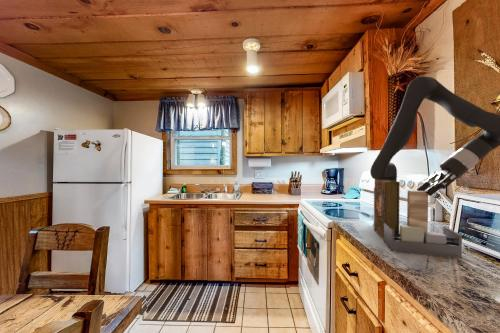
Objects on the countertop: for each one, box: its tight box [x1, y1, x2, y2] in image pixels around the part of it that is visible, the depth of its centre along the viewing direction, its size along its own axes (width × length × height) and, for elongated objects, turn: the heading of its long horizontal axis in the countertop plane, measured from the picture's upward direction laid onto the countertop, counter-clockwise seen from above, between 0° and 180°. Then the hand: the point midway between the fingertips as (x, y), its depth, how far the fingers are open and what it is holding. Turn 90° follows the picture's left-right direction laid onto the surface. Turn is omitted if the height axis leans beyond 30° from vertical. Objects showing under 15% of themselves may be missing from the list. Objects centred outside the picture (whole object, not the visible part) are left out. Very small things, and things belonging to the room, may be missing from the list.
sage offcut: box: [399, 225, 424, 243], centre depth 91 cm, size 2×7×9 cm, turn 73°
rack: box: [383, 223, 463, 259], centre depth 93 cm, size 12×22×8 cm, turn 73°
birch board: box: [406, 189, 429, 233], centre depth 95 cm, size 3×6×22 cm, turn 73°
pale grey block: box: [424, 232, 446, 244], centre depth 89 cm, size 2×6×7 cm, turn 74°
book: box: [373, 179, 401, 240], centre depth 111 cm, size 16×6×25 cm, turn 168°
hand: (422, 192), depth 94 cm, fingers open, 8 cm apart
